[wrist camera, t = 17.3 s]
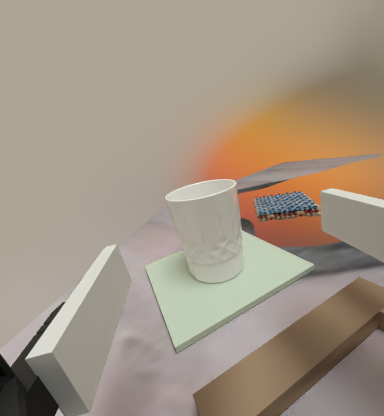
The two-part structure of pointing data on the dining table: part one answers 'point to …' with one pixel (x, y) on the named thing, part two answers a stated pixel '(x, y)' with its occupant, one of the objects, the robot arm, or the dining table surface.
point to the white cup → (209, 228)
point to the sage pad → (220, 289)
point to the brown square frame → (296, 356)
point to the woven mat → (285, 207)
